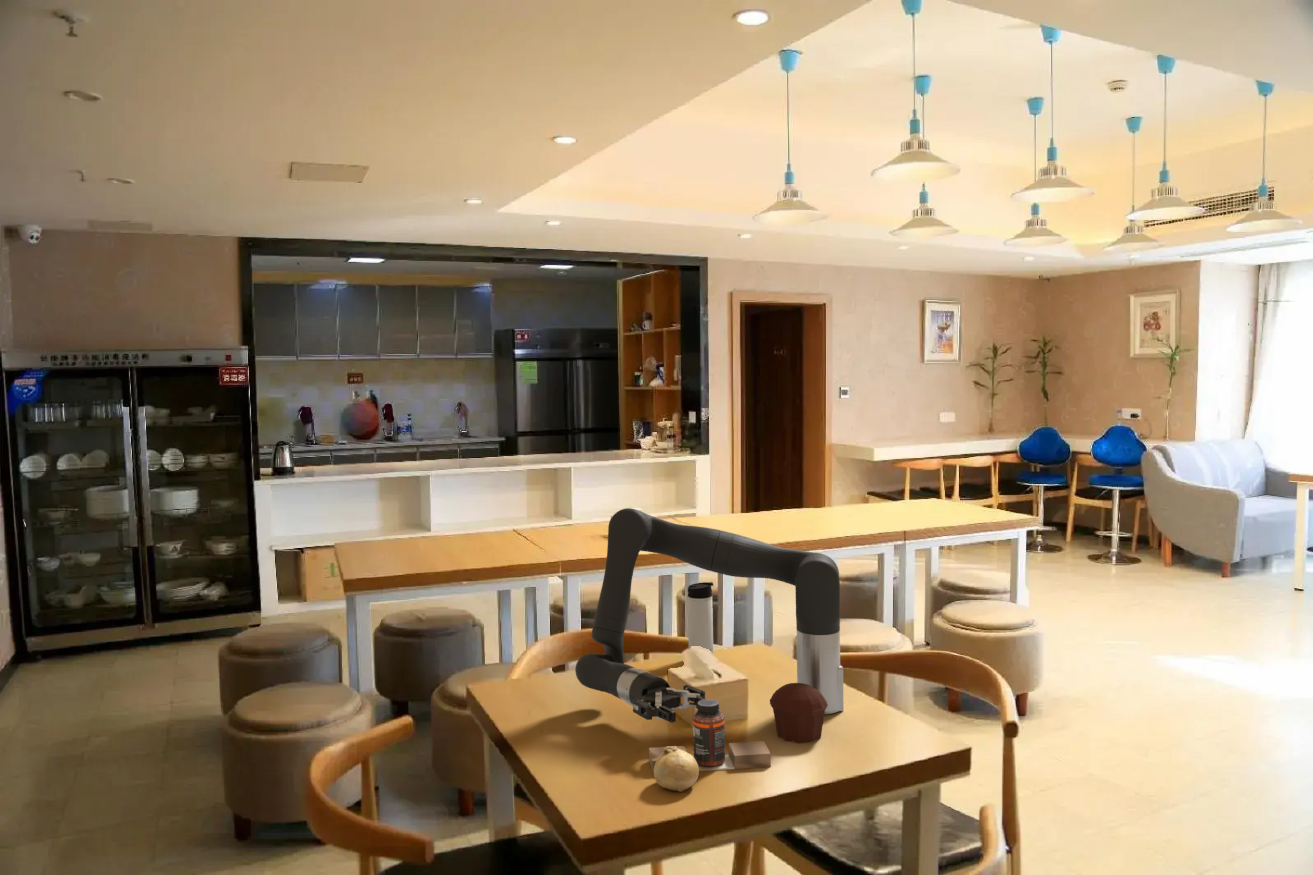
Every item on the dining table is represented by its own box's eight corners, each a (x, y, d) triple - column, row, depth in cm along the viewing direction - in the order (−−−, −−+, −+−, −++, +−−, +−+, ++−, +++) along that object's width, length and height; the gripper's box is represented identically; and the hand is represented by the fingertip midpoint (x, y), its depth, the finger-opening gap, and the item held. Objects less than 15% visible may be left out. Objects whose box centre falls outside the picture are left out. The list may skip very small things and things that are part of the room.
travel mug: (715, 664, 236) (714, 585, 235) (689, 664, 236) (687, 586, 235) (714, 656, 242) (712, 580, 241) (688, 657, 242) (687, 580, 241)
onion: (694, 775, 171) (694, 737, 170) (703, 794, 163) (702, 754, 162) (651, 779, 170) (650, 740, 169) (657, 798, 162) (656, 758, 161)
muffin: (839, 734, 188) (838, 685, 188) (806, 750, 181) (806, 699, 180) (791, 719, 197) (791, 673, 196) (758, 735, 189) (757, 686, 188)
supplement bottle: (729, 757, 177) (728, 698, 177) (720, 769, 172) (719, 709, 171) (698, 753, 179) (698, 695, 179) (689, 765, 174) (688, 705, 173)
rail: (763, 753, 179) (763, 741, 179) (770, 766, 173) (770, 753, 173) (649, 761, 177) (649, 748, 177) (652, 774, 171) (652, 760, 171)
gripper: (613, 679, 187) (661, 701, 174) (670, 665, 196) (720, 685, 183) (614, 716, 188) (662, 740, 175) (671, 700, 196) (721, 722, 183)
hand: (692, 712), depth 179 cm, fingers open, 8 cm apart
